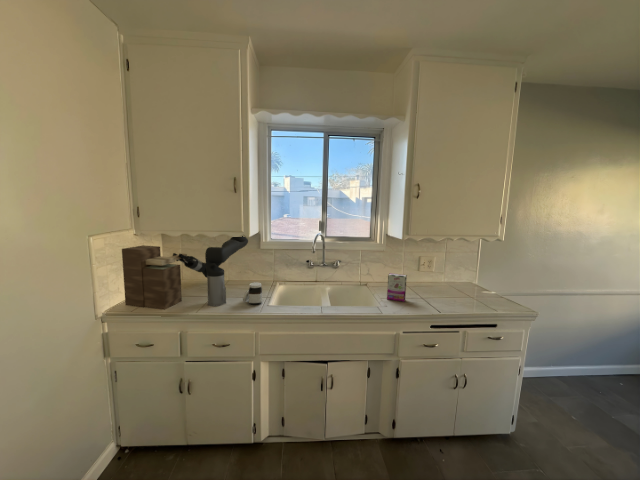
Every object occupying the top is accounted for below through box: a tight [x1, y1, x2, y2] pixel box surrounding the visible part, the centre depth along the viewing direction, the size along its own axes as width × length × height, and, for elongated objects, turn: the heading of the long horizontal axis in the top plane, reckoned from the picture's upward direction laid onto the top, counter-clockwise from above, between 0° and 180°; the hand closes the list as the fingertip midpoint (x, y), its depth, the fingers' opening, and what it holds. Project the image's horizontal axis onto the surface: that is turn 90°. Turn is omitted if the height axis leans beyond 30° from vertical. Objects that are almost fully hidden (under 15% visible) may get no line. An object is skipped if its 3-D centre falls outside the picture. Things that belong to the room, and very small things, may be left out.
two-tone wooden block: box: [121, 244, 183, 310], centre depth 150 cm, size 14×25×32 cm, turn 78°
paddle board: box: [146, 253, 188, 266], centre depth 155 cm, size 24×10×2 cm, turn 168°
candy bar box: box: [386, 273, 408, 303], centre depth 169 cm, size 11×5×16 cm, turn 68°
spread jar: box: [242, 281, 263, 306], centre depth 157 cm, size 12×11×12 cm
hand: (176, 254), depth 159 cm, fingers closed on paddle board, 3 cm apart
